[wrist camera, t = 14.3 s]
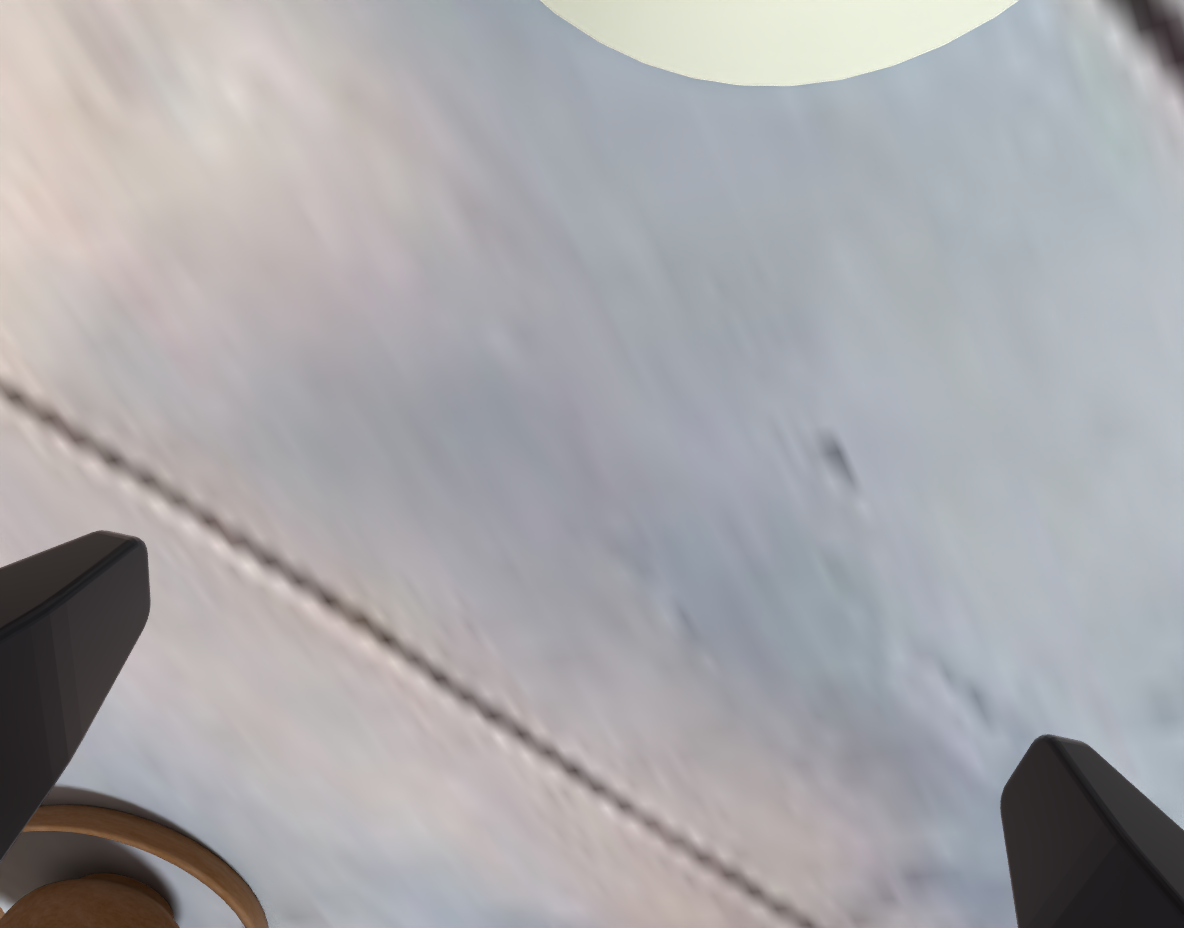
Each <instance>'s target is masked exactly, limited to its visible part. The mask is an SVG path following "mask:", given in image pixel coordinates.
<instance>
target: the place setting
mask: <svg viewBox="0 0 1184 928" xmlns="http://www.w3.org/2000/svg"><path fill="white" fill-rule="evenodd" d="M29 831H64V832H75V833H81V834H88V835H94V836H98V837H102V838H106V839H111V840H115V841H118V842H121V843H124V844H127V845H130V846H133V847H136V848H139V849H141V850H144V851H146V852H149V853H151V854H154V855H156V856H158V857H160V858H162V859H164V860H166V861H168V862H170V863H172V864H174V865H176V866H178V867H179V868H181V869H183V870H184V871H186V872H188V873H189V874H191V875H193V876H194V877H196V878H197V879H198V880H200V881H201V882H202V883H204V884H205V885H207V886H208V887H209V888H211V889H212V890H213V891H214V892H215V893H216V894H217V895H218V896H220V897H221V898H222V899H223V900H224V901H225V902H226V903H227V904H228V905H229V906H230V907H231V909H232V910H233V911H234V912H235V913H236V914H237V916H238V917H239V919H240V920H241V921H242V923H243V924H244V925H245V927H246V928H269V927H268V923H267V920H266V917H265V913H264V911H263V909H262V907H261V905H260V903H259V901H258V899H257V898H256V896H255V895H254V893H253V892H252V890H251V889H250V887H249V886H248V885H247V884H246V883H245V882H244V880H243V879H242V878H241V877H240V876H239V875H238V874H237V873H236V872H235V871H234V870H233V869H232V868H231V867H229V866H228V865H227V864H226V863H225V862H224V861H223V860H221V859H220V858H219V857H217V856H216V855H215V854H213V853H212V852H211V851H209V850H208V849H206V848H205V847H203V846H201V845H200V844H198V843H196V842H195V841H193V840H192V839H190V838H188V837H186V836H184V835H182V834H180V833H178V832H176V831H174V830H172V829H170V828H167V827H165V826H163V825H160V824H158V823H155V822H153V821H150V820H147V819H144V818H141V817H138V816H135V815H132V814H128V813H124V812H120V811H116V810H111V809H106V808H99V807H93V806H83V805H48V806H40V807H39V808H38V809H37V811H36V812H35V813H34V815H33V816H32V818H31V819H30V821H29V822H28V823H27V825H26V826H25V828H24V829H23V830H22V832H29ZM22 832H21V833H22ZM0 928H179V926H178V925H177V923H176V922H175V921H174V917H173V912H172V910H171V908H170V906H169V904H168V903H167V902H166V900H165V899H164V898H163V897H162V896H161V895H160V894H159V893H157V892H156V891H155V890H153V889H152V888H150V887H149V886H147V885H145V884H143V883H141V882H139V881H137V880H134V879H132V878H129V877H125V876H121V875H116V874H109V873H97V874H91V875H87V876H84V877H82V878H80V879H72V880H64V881H59V882H55V883H51V884H48V885H45V886H43V887H40V888H38V889H36V890H34V891H32V892H30V893H29V894H27V895H26V896H24V897H23V898H21V899H20V900H19V901H18V902H17V903H15V904H14V905H13V906H12V907H11V908H10V909H9V910H8V911H7V912H6V913H4V912H3V910H2V909H1V908H0Z"/></svg>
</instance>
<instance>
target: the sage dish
mask: <svg viewBox="0 0 1184 928" xmlns="http://www.w3.org/2000/svg"><path fill="white" fill-rule="evenodd" d="M540 1H541V2H542V3H544V4H545V5H546V6H547V7H548V8H549V9H551V10H552V11H553V12H554V13H555V14H557V15H558V16H560V17H561V18H563V19H564V20H566V21H567V22H569V23H570V24H572V25H573V26H575V27H577V28H578V29H580V30H581V31H583V32H584V33H586V34H587V35H589V36H590V37H592V38H593V39H595V40H596V41H598V42H600V43H602V44H604V45H606V46H608V47H610V48H613V49H615V50H617V51H619V52H621V53H623V54H625V55H627V56H630V57H632V58H634V59H636V60H638V61H640V62H642V63H645V64H648V65H651V66H654V67H658V68H661V69H664V70H667V71H671V72H674V73H677V74H681V75H684V76H687V77H690V78H696V79H702V80H709V81H715V82H721V83H728V84H734V85H747V86H794V85H802V84H810V83H818V82H826V81H834V80H841V79H845V78H849V77H853V76H857V75H860V74H864V73H868V72H872V71H876V70H879V69H883V68H887V67H891V66H894V65H896V64H899V63H901V62H904V61H906V60H909V59H911V58H914V57H916V56H918V55H921V54H923V53H926V52H928V51H931V50H933V49H936V48H938V47H941V46H943V45H945V44H947V43H949V42H951V41H952V40H954V39H956V38H958V37H960V36H961V35H963V34H965V33H967V32H969V31H971V30H972V29H974V28H976V27H978V26H980V25H981V24H983V23H985V22H987V21H989V20H991V19H992V18H994V17H996V16H997V15H999V14H1000V13H1001V12H1003V11H1004V10H1006V9H1007V8H1008V7H1010V6H1011V5H1013V4H1014V3H1016V2H1017V1H1018V0H540Z"/></svg>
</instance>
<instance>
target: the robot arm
mask: <svg viewBox="0 0 1184 928" xmlns="http://www.w3.org/2000/svg"><path fill="white" fill-rule="evenodd" d="M149 612H150V586H149V569H148V553H147V547H146V545H145V543H144V542H143V541H142V540H141V539H139V538H137V537H134V536H129V535H125V534H120V533H115V532H111V531H103V530H101V531H96V532H92V533H90V534H87V535H84V536H82V537H79V538H77V539H74V540H71V541H69V542H66V543H64V544H61V545H58V546H56V547H53V548H51V549H48V550H45V551H43V552H40V553H38V554H35V555H32V556H30V557H27V558H25V559H22V560H19V561H17V562H14V563H12V564H9V565H7V566H4V567H1V568H0V862H1V860H2V859H3V858H4V856H5V855H6V853H7V852H8V850H9V849H10V848H11V846H12V845H13V843H14V842H15V840H16V839H17V838H18V836H19V835H20V833H21V832H22V830H23V829H24V828H25V826H26V825H27V823H28V822H29V821H30V819H31V818H32V816H33V815H34V813H35V812H36V811H37V809H38V808H39V806H40V805H41V803H42V802H43V801H44V799H45V798H46V796H47V795H48V793H49V792H50V791H51V789H52V788H53V786H54V785H55V783H56V782H57V780H58V779H59V777H60V776H61V774H62V773H63V771H64V770H65V768H66V767H67V765H68V764H69V762H70V761H71V759H72V757H73V755H74V754H75V752H76V750H77V749H78V747H79V745H80V743H81V742H82V740H83V738H84V736H85V735H86V733H87V731H88V729H89V727H90V726H91V724H92V722H93V720H94V718H95V716H96V715H97V713H98V711H99V709H100V707H101V705H102V704H103V702H104V700H105V698H106V696H107V695H108V693H109V691H110V689H111V687H112V685H113V684H114V682H115V680H116V678H117V676H118V675H119V673H120V671H121V669H122V667H123V665H124V664H125V662H126V660H127V658H128V656H129V655H130V653H131V651H132V649H133V647H134V645H135V644H136V642H137V640H138V638H139V636H140V635H141V633H142V631H143V629H144V627H145V625H146V622H147V619H148V616H149ZM1000 809H1001V818H1002V825H1003V831H1004V838H1005V845H1006V851H1007V858H1008V865H1009V871H1010V878H1011V885H1012V891H1013V898H1014V904H1015V911H1016V918H1017V924H1018V928H1184V830H1183V829H1182V828H1180V827H1179V826H1178V825H1177V824H1176V823H1175V822H1174V821H1173V820H1171V819H1170V818H1169V817H1168V816H1167V815H1166V814H1165V813H1164V812H1163V811H1161V810H1160V809H1159V808H1158V807H1157V806H1156V805H1155V804H1154V803H1153V802H1151V801H1150V800H1149V799H1148V798H1147V797H1146V796H1145V795H1144V794H1143V793H1141V792H1140V791H1139V790H1138V789H1137V788H1136V787H1135V786H1134V785H1132V784H1131V783H1130V782H1129V781H1128V780H1127V779H1126V778H1125V777H1124V776H1122V775H1121V774H1120V773H1119V772H1118V771H1117V770H1116V769H1115V768H1114V767H1112V766H1111V765H1110V764H1109V763H1108V762H1107V761H1106V760H1105V759H1104V758H1102V757H1101V756H1100V755H1099V754H1098V753H1097V752H1096V751H1095V750H1093V749H1092V748H1091V747H1090V746H1089V745H1087V744H1085V743H1084V742H1081V741H1078V740H1073V739H1069V738H1064V737H1060V736H1055V735H1049V734H1047V735H1042V736H1040V737H1038V738H1037V739H1035V740H1034V742H1033V743H1032V744H1031V746H1030V747H1029V749H1028V751H1027V752H1026V754H1025V755H1024V757H1023V758H1022V760H1021V761H1020V763H1019V765H1018V766H1017V768H1016V769H1015V771H1014V772H1013V774H1012V775H1011V777H1010V779H1009V780H1008V782H1007V783H1006V785H1005V787H1004V790H1003V793H1002V796H1001V807H1000Z"/></svg>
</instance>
